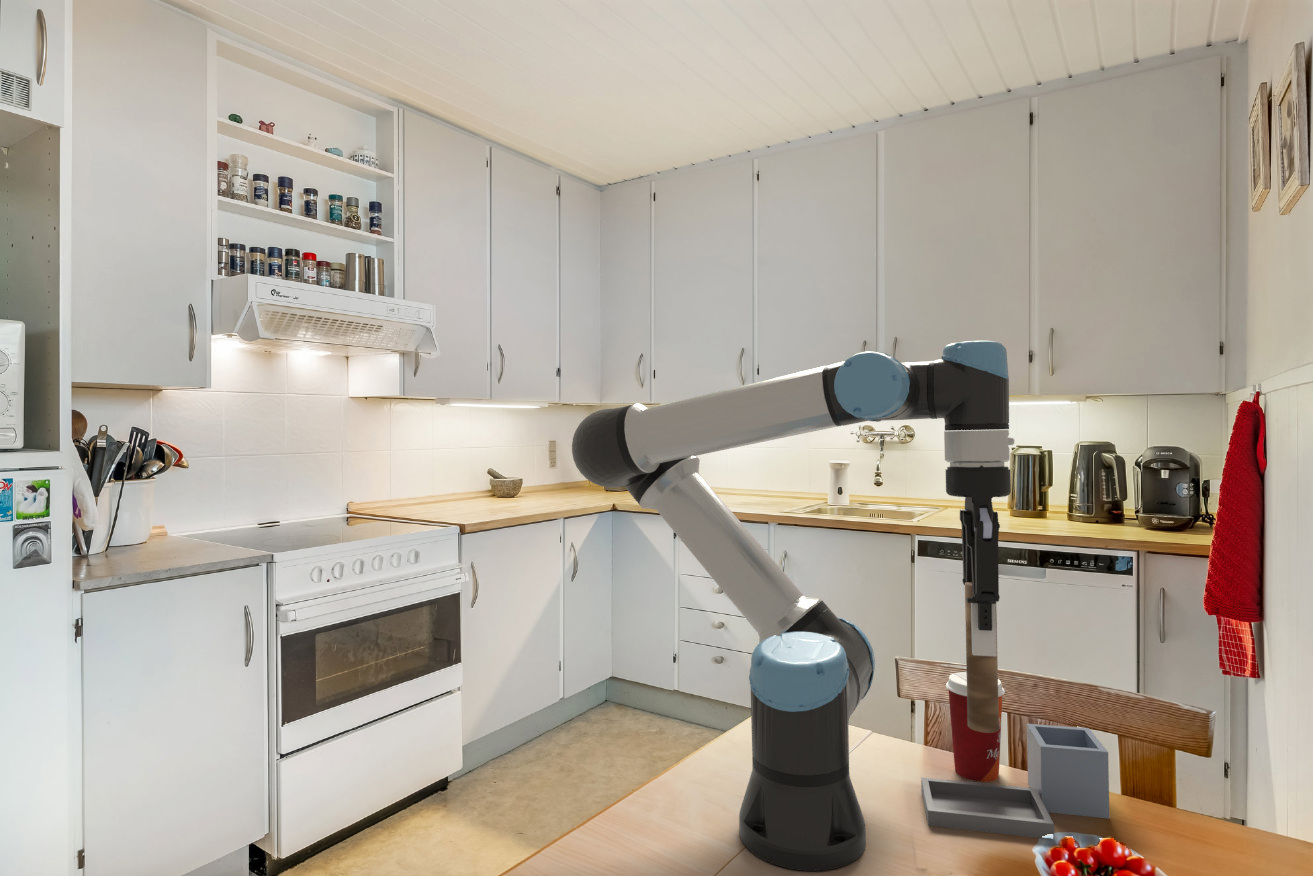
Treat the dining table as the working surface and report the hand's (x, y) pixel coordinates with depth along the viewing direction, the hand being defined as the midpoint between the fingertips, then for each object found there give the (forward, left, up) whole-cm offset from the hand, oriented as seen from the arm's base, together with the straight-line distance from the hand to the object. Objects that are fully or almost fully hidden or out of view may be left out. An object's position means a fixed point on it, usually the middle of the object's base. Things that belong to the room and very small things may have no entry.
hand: (981, 649), depth 92 cm
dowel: (0, 0, -10) cm, 10 cm away
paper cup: (+1, +12, -22) cm, 25 cm away
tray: (0, 0, -21) cm, 21 cm away
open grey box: (+11, +6, -21) cm, 25 cm away
